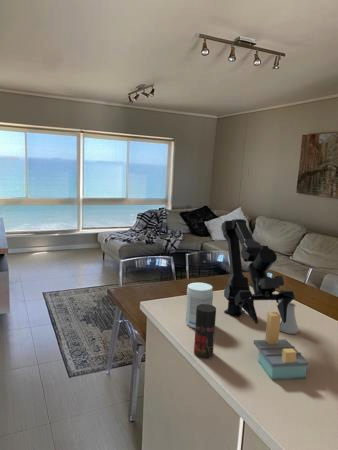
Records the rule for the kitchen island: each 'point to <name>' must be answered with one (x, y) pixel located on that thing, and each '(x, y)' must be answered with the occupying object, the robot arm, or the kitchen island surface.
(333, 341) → the kitchen island surface
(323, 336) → the kitchen island surface
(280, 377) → the tub
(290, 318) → the flask
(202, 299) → the supplement tub
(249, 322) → the kitchen island surface
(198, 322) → the deodorant
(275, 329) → the gray board with blocks
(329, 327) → the kitchen island surface
